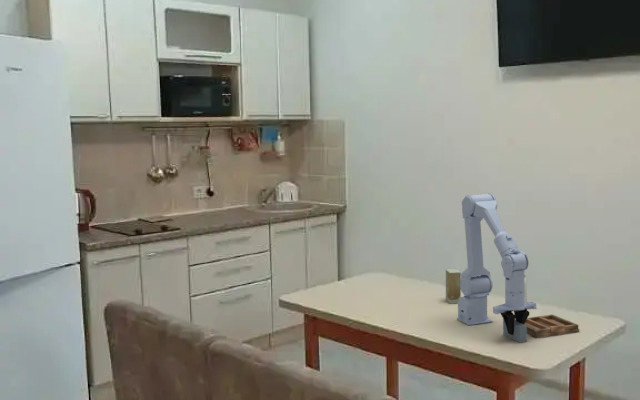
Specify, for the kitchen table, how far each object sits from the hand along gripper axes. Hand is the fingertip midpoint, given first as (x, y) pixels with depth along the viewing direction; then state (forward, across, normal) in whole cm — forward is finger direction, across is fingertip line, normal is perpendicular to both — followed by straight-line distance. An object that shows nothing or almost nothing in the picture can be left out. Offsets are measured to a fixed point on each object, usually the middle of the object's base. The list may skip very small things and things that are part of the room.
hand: (514, 333), depth 207 cm
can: (+2, +21, +29) cm, 36 cm away
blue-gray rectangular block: (+1, 0, 0) cm, 1 cm away
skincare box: (+2, +4, +46) cm, 46 cm away
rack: (+2, +14, +4) cm, 15 cm away
